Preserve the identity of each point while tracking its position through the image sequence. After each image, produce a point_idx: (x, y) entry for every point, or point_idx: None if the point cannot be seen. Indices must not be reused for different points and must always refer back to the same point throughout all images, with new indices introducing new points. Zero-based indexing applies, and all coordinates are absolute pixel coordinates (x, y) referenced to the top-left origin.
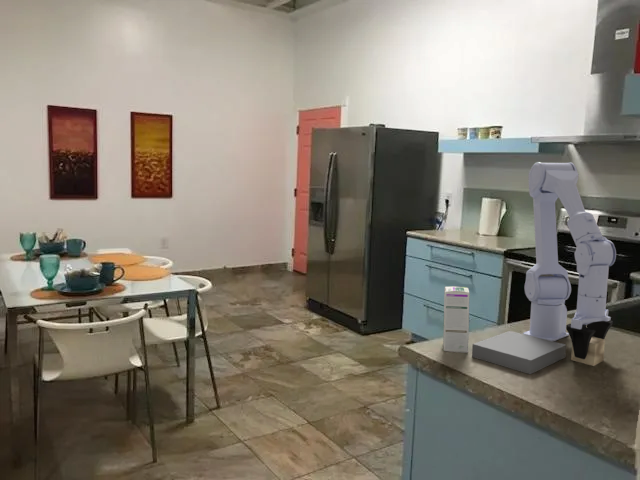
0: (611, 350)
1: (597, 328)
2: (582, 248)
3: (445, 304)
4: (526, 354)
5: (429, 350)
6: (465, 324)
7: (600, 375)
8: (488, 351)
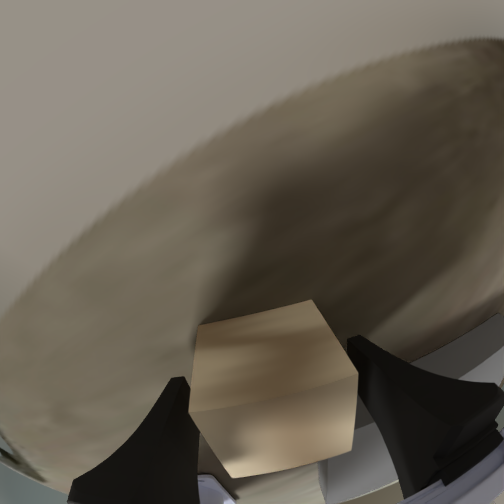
0: (63, 370)
1: (175, 492)
2: None
3: None
4: (494, 371)
5: None
6: None
7: (400, 204)
8: None
